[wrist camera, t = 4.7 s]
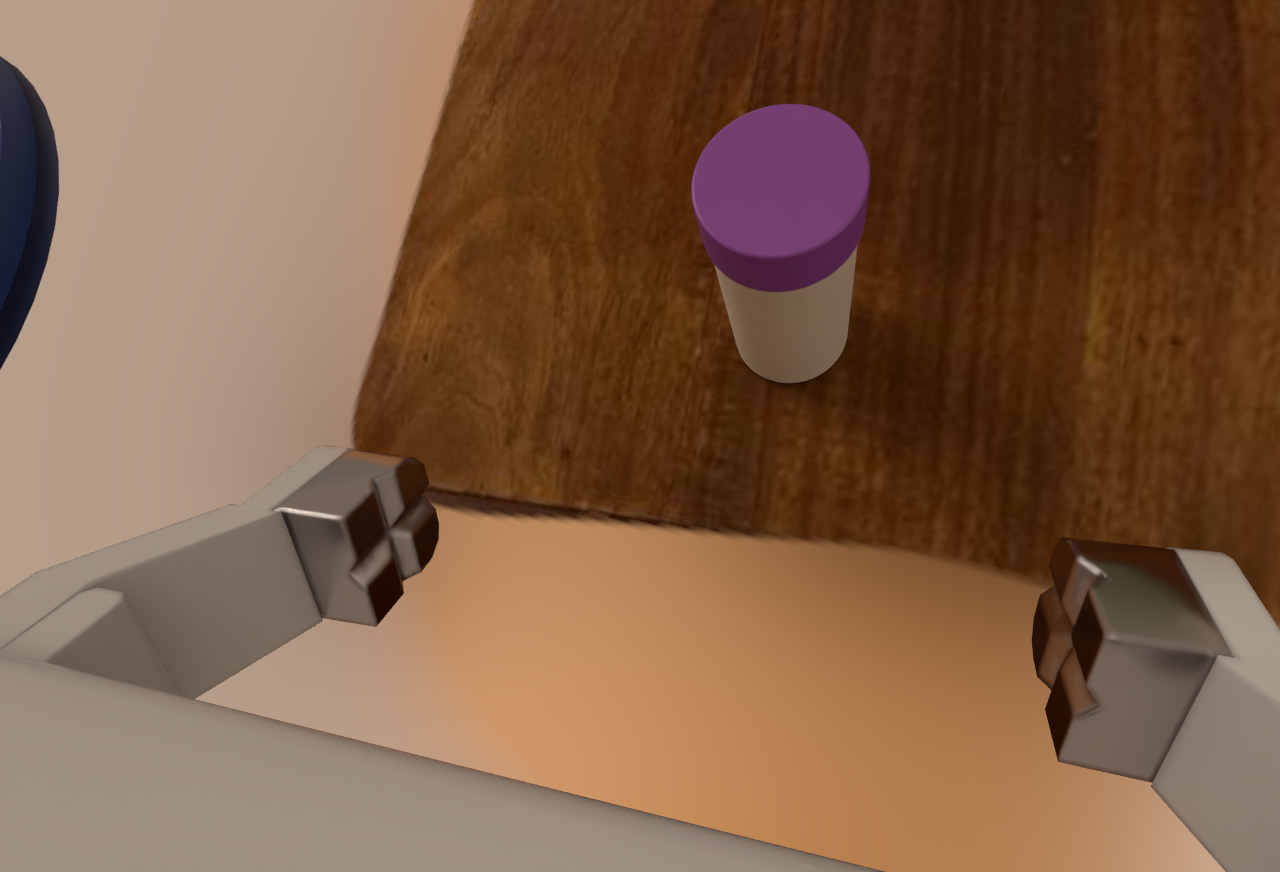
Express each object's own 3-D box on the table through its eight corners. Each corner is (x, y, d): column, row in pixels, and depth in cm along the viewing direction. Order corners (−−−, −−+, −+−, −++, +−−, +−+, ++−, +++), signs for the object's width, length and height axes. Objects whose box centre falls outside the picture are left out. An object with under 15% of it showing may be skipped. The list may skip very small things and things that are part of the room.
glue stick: (719, 373, 21) (669, 243, 14) (749, 270, 21) (716, 95, 14) (835, 398, 20) (846, 271, 13) (863, 289, 20) (888, 110, 13)
